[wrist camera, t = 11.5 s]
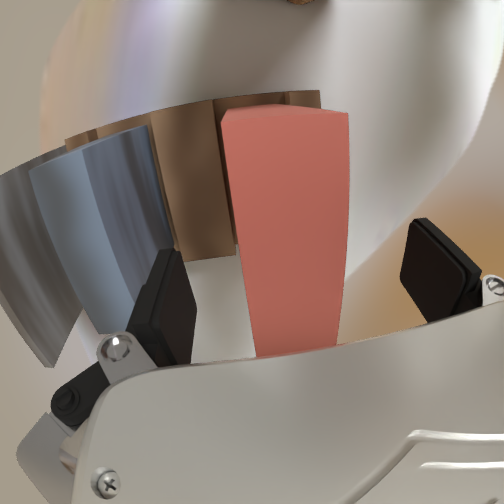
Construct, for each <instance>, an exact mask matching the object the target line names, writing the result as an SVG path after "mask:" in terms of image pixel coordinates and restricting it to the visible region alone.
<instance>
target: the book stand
mask: <svg viewBox="0 0 504 504" xmlns="http://www.w3.org/2000/svg"><path fill="white" fill-rule="evenodd" d="M267 104H282V105H292V106H301V107H309V108H317V109H321V103H320V92H319V90H305V91H287V92H275V93H262V94H252V95H243V96H235V97H228V98H221V99H214V100H206V101H200V102H194V103H189V104H184V105H179V106H174V107H170V108H165V109H161V110H157V111H153V112H150V113H146V114H143V115H139V116H135V117H132V118H128V119H125V120H121V121H118V122H115V123H111V124H108V125H105V126H102V127H99V128H96V129H93V130H90V131H86V132H84V133H81V134H78V135H76V136H73V137H70V138H68V139H65V144H66V145H64V146H62V147H59V148H57V149H54V150H52V151H50V152H47V153H45V154H43V155H41V156H38V157H36V158H34V159H32V160H30V161H28V162H26V163H24V164H21V165H19V166H18V167H15V168H14V169H11V170H10V171H8V172H6V173H4V174H2V175H0V304H1V306H2V307H3V309H4V311H5V312H6V314H7V315H8V317H9V319H10V320H11V322H12V323H13V325H14V326H15V328H16V329H17V331H18V332H19V334H20V335H21V336H22V338H23V339H24V341H25V342H26V343H27V345H28V346H29V347H30V349H31V350H32V351H33V353H34V354H35V355H36V357H37V358H38V359H39V360H40V362H41V363H42V364H43V365H44V367H49V368H54V366H55V364H56V362H57V360H58V357H59V355H60V353H61V351H62V349H63V347H64V344H65V342H66V340H67V338H68V336H69V334H70V332H71V330H72V328H73V326H74V324H75V322H76V320H77V318H78V316H79V314H80V312H81V311H82V309H83V307H84V309H85V311H86V313H87V315H88V316H89V318H90V320H91V322H92V323H93V325H94V327H95V328H96V330H97V332H98V333H99V334H112V333H114V332H119V331H125V330H126V327H127V324H128V322H129V319H130V316H131V313H132V310H133V308H134V305H135V302H136V300H137V297H138V295H139V292H140V289H141V287H142V285H144V284H146V282H147V279H148V276H149V274H150V271H151V269H152V266H153V264H154V261H155V259H156V256H157V254H158V252H159V250H160V249H167V248H175V250H176V251H180V252H181V254H182V258H183V261H184V262H187V261H194V260H202V259H209V258H217V257H224V256H232V255H236V247H235V244H238V238H237V231H236V225H235V218H234V211H233V204H232V198H231V191H230V184H229V177H228V170H227V163H226V156H225V149H224V142H223V135H222V128H221V121H222V119H223V117H224V115H225V113H226V111H227V109H231V108H238V107H247V106H256V105H267Z"/></svg>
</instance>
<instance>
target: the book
mask: <svg viewBox="0 0 504 504" xmlns="http://www.w3.org/2000/svg"><path fill="white" fill-rule="evenodd" d="M221 128H222V135H223V142H224V149H225V156H226V163H227V170H228V177H229V184H230V191H231V198H232V204H233V211H234V218H235V225H236V231H237V238H238V244H239V251H240V257H241V264H242V270H243V277H244V283H245V289H246V296H247V302H248V308H249V314H250V320H251V327H252V333H253V339H254V345H255V351H256V357H263V356H270V355H278V354H285V353H292V352H298V351H305V350H311V349H317V348H322V347H328V346H333V345H336V342H337V336H338V329H339V321H340V313H341V304H342V296H343V287H344V276H345V265H346V251H347V236H348V215H349V125H348V113H343V112H337V111H331V110H324V109H317V108H309V107H301V106H292V105H282V104H267V105H256V106H247V107H238V108H231V109H227V111H226V113H225V115H224V117H223V119H222V121H221Z"/></svg>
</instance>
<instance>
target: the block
mask: <svg viewBox="0 0 504 504" xmlns="http://www.w3.org/2000/svg"><path fill="white" fill-rule="evenodd" d="M287 1H289V2H291V3H294V4H297V5H302V4H306V3H308V2H311V1H314V0H287Z"/></svg>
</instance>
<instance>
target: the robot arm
mask: <svg viewBox="0 0 504 504" xmlns="http://www.w3.org/2000/svg"><path fill="white" fill-rule="evenodd" d="M481 273H482V270H481V269H480V268H479V267H478V266H477V265H476V264H475V263H474V262H473V261H472V260H471V259H470V258H469V257H468V256H467V255H466V254H465V253H464V252H463V251H462V250H461V249H460V248H459V247H458V246H457V245H456V244H455V243H454V242H453V241H452V240H451V239H450V238H448V237H447V236H446V235H445V234H444V233H443V232H442V231H441V230H440V229H439V228H437V227H436V226H435V225H434V224H433V223H432V222H431V221H429V220H428V219H427V218H419V219H414V220H413V221H412V223H410V225H409V230H408V237H407V242H406V247H405V253H404V258H403V262H402V267H401V272H400V281H401V283H402V285H403V286H404V288H405V289H406V290H407V292H408V293H409V295H410V296H411V298H412V299H413V301H414V302H415V304H416V305H417V307H418V308H419V310H420V312H421V313H422V315H423V316H424V318H425V319H426V321H427V324H423V325H420V326H416V327H413V328H409V329H405V330H401V331H397V332H393V333H389V334H385V335H380V336H376V337H372V338H367V339H363V340H358V341H353V342H349V343H344V344H338V345H333V346H328V347H322V348H317V349H311V350H305V351H298V352H292V353H285V354H278V355H270V356H263V357H254V358H245V359H236V360H226V361H215V362H205V363H194V364H190V363H191V354H192V346H193V337H194V329H195V322H196V314H197V306H196V302H195V299H194V296H193V292H192V289H191V286H190V283H189V279H188V276H187V273H186V269H185V266H184V262H183V259H182V255H181V252H180V251H176V250H175V248H167V249H160V250H159V252H158V254H157V256H156V259H155V261H154V264H153V266H152V269H151V271H150V274H149V276H148V279H147V282H146V284H144V285H142V287H141V289H140V292H139V295H138V297H137V300H136V302H135V305H134V308H133V310H132V313H131V316H130V319H129V322H128V324H127V327H126V330H125V331H119V332H114V333H112V334H110V335H108V336H107V337H106V338H104V339H103V340H102V341H101V343H100V344H99V346H98V348H97V353H96V355H97V359H98V362H96V363H95V364H93V365H92V366H90V367H89V368H87V369H86V370H85V371H83V372H82V373H80V374H79V375H77V376H76V377H75V378H73V379H72V380H70V381H69V382H68V383H66V384H64V385H63V386H61V387H60V388H59V389H58V390H57V391H56V392H55V394H54V395H53V397H52V400H51V410H52V411H51V412H50V413H49V414H48V413H46V412H45V413H44V415H43V416H42V417H41V418H40V419H39V421H38V422H37V423H36V424H35V425H34V427H33V428H32V429H31V430H30V431H29V433H28V434H27V435H26V436H25V438H24V439H23V440H22V441H21V442H20V444H19V446H18V448H17V452H16V456H17V461H18V463H19V465H20V466H21V468H22V469H23V470H24V472H25V473H26V475H27V476H28V477H29V479H30V480H31V481H32V482H33V484H34V485H35V486H36V488H37V489H38V490H39V492H40V493H41V494H42V495H43V497H44V498H45V499H46V500H47V501H48V502H49V503H50V504H504V280H503V279H502V278H500V277H498V276H495V275H487V276H485V277H484V278H483V279H482V281H481V280H480V275H481Z"/></svg>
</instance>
